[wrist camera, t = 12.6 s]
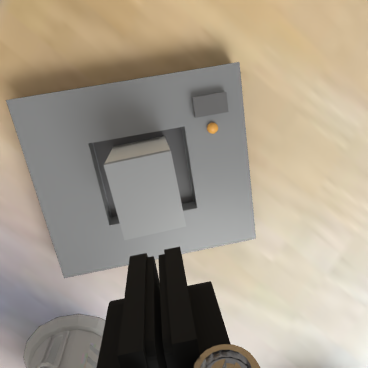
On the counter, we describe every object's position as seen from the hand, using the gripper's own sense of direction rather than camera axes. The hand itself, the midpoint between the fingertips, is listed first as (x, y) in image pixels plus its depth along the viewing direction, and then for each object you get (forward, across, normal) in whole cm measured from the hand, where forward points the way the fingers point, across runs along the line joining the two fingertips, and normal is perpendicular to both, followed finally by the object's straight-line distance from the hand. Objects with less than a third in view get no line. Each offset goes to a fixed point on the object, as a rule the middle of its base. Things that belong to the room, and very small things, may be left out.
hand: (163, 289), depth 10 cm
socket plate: (+16, +1, 0) cm, 16 cm away
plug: (+15, +1, 0) cm, 15 cm away
